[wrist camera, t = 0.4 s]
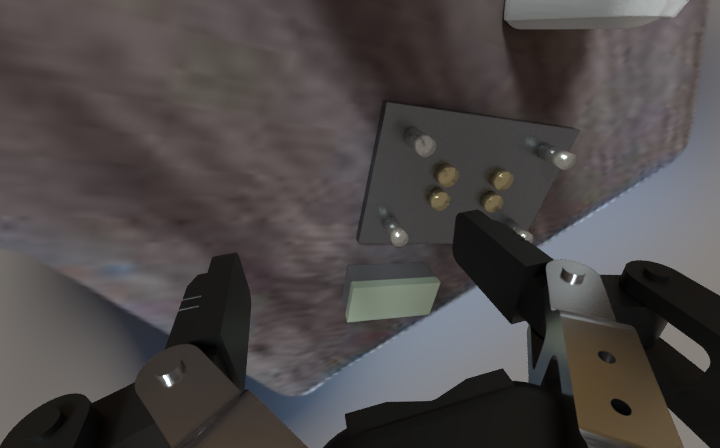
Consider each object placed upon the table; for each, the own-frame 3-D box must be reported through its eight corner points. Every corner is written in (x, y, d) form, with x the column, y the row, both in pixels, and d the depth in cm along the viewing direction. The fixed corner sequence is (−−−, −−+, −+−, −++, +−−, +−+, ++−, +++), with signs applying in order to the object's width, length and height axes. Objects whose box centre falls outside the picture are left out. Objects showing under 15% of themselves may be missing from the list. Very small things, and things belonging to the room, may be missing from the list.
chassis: (383, 99, 26) (399, 110, 23) (572, 127, 32) (606, 139, 29) (356, 238, 33) (365, 261, 30) (515, 239, 39) (538, 258, 36)
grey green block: (345, 263, 35) (353, 288, 32) (425, 260, 38) (440, 282, 34) (340, 296, 37) (347, 322, 34) (416, 290, 40) (429, 314, 37)
